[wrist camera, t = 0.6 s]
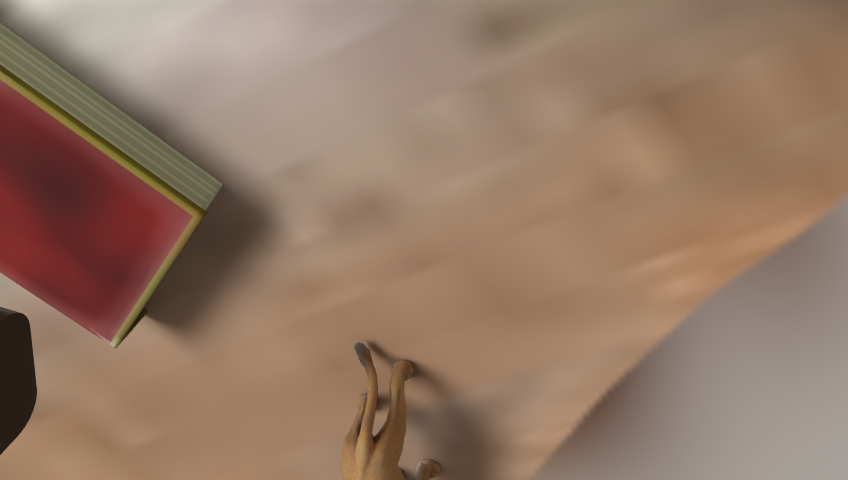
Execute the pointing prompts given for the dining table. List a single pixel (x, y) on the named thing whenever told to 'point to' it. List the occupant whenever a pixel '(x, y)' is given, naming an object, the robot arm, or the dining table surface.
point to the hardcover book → (87, 196)
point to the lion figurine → (378, 456)
